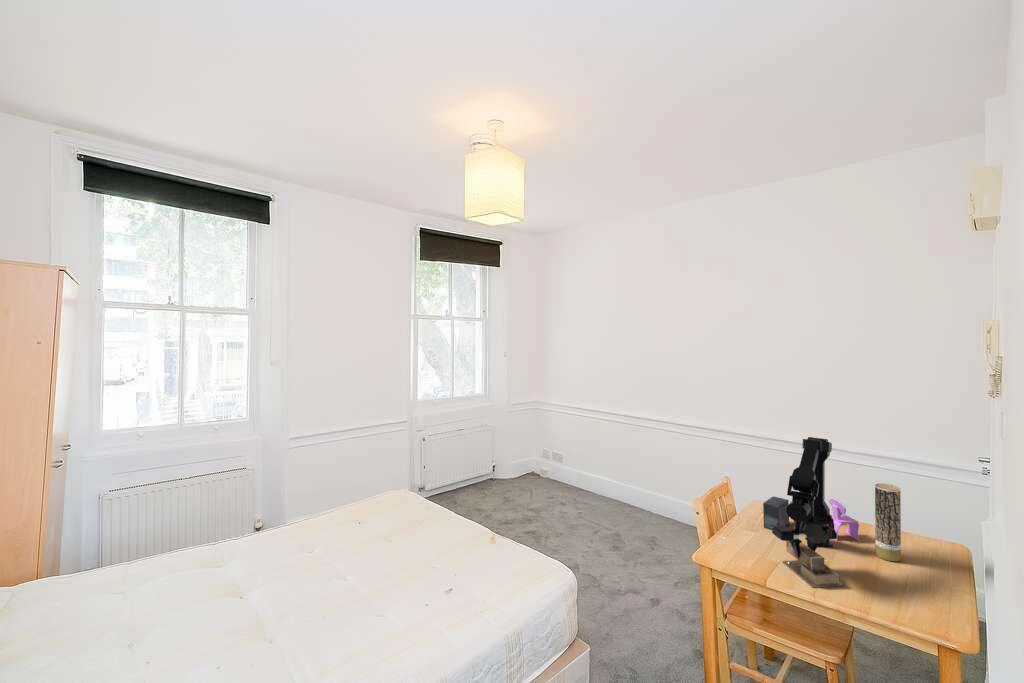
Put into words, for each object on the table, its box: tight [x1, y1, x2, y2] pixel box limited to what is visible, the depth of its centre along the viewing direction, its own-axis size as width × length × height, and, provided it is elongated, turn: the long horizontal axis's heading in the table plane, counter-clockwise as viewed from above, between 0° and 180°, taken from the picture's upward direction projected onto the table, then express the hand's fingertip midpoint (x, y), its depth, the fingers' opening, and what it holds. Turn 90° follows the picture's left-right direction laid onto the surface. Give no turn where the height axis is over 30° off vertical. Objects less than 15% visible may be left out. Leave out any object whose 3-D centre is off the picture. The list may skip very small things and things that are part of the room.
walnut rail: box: [785, 541, 825, 571], centre depth 150 cm, size 13×4×4 cm, turn 1°
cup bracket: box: [781, 559, 845, 589], centre depth 147 cm, size 15×10×4 cm, turn 1°
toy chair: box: [828, 497, 860, 542], centre depth 172 cm, size 8×9×15 cm
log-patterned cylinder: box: [874, 483, 902, 563], centre depth 156 cm, size 7×7×25 cm
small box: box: [762, 496, 790, 531], centre depth 183 cm, size 11×6×10 cm, turn 130°
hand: (804, 557), depth 151 cm, fingers closed on walnut rail, 4 cm apart
